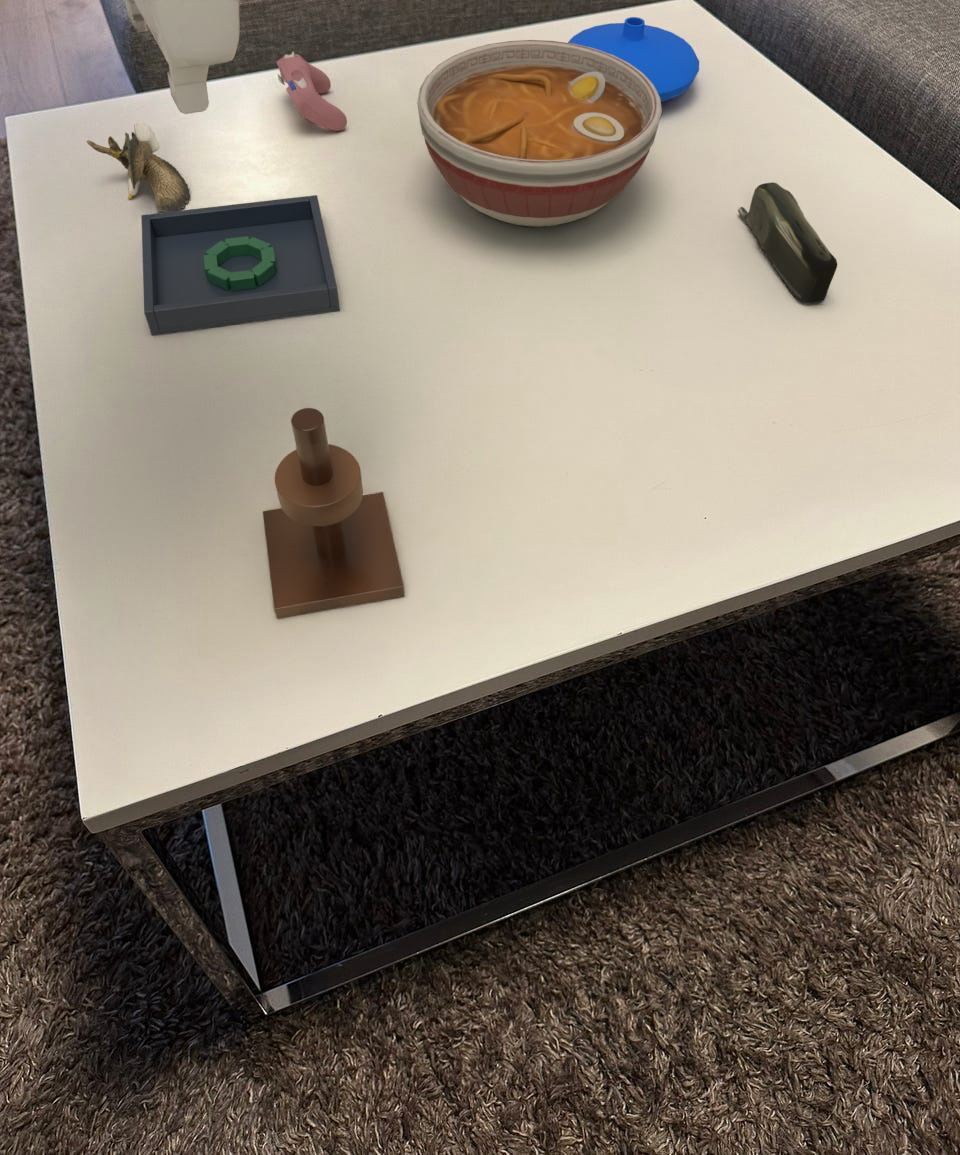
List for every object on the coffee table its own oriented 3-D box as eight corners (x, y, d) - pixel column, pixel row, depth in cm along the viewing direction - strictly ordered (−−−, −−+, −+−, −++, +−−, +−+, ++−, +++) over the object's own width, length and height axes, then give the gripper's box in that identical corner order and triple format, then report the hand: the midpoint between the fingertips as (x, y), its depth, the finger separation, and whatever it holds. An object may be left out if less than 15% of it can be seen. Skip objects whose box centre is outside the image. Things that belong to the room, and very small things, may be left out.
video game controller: (299, 106, 110) (263, 53, 104) (332, 83, 109) (297, 29, 103) (317, 151, 104) (279, 98, 99) (352, 127, 103) (316, 72, 98)
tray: (151, 335, 84) (143, 312, 82) (148, 237, 92) (141, 214, 90) (340, 310, 86) (337, 287, 84) (320, 217, 94) (316, 194, 92)
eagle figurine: (80, 183, 95) (122, 206, 90) (90, 107, 93) (135, 126, 88) (150, 199, 101) (194, 221, 96) (162, 128, 98) (208, 147, 93)
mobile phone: (847, 259, 84) (771, 164, 92) (815, 265, 83) (743, 168, 91) (828, 305, 88) (758, 209, 96) (798, 310, 87) (730, 214, 95)
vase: (606, 135, 104) (614, 69, 98) (532, 71, 112) (536, 7, 106) (722, 101, 109) (736, 36, 103) (643, 42, 117) (652, -21, 111)
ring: (208, 294, 86) (205, 283, 85) (204, 252, 90) (201, 241, 89) (279, 285, 87) (277, 274, 86) (272, 244, 91) (270, 233, 90)
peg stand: (277, 619, 66) (238, 484, 55) (265, 521, 72) (227, 379, 60) (404, 596, 68) (392, 460, 56) (384, 502, 73) (369, 360, 62)
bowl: (669, 158, 102) (686, 62, 93) (612, 285, 89) (627, 186, 81) (467, 117, 106) (467, 22, 98) (385, 232, 93) (378, 133, 85)
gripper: (8, -296, 50) (73, -12, 61) (105, -134, 40) (161, 167, 52) (130, -297, 52) (171, -22, 63) (251, -144, 42) (274, 148, 54)
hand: (167, 64), depth 57 cm, fingers open, 8 cm apart
